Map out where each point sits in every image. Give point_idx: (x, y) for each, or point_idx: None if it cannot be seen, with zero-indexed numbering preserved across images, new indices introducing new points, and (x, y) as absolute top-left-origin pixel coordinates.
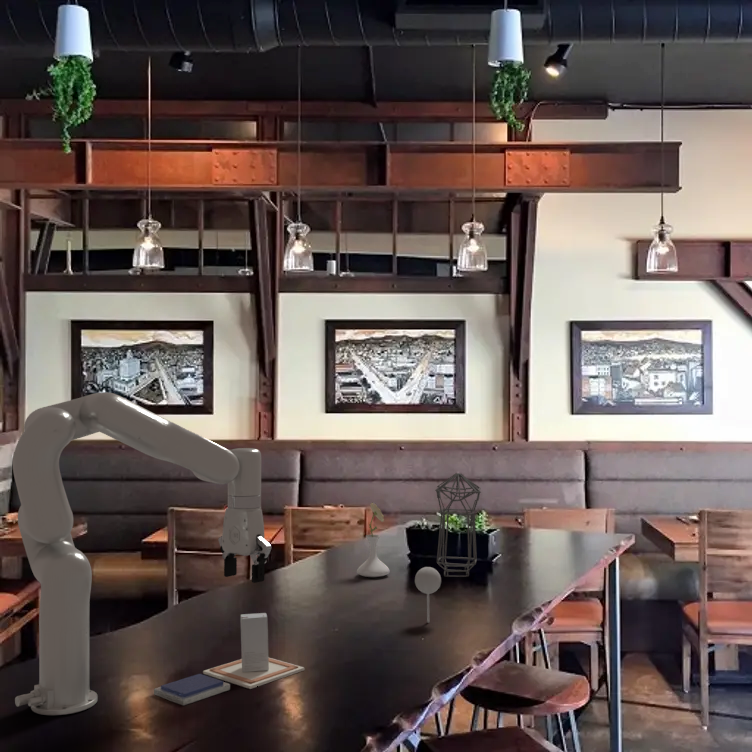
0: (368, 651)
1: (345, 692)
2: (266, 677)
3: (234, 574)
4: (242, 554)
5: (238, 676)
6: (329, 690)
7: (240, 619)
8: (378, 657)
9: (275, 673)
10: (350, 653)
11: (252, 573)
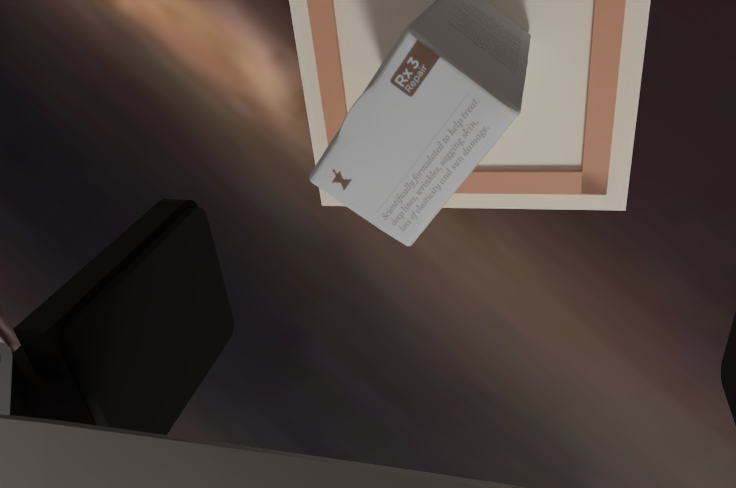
0: (340, 439)
1: (50, 127)
2: (308, 9)
3: (726, 350)
4: (10, 415)
5: None
6: (91, 106)
7: (506, 88)
8: (273, 412)
9: (322, 71)
10: (364, 404)
11: (119, 252)
